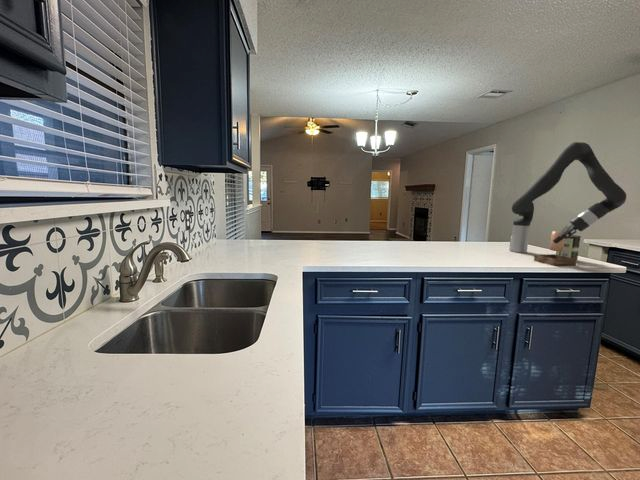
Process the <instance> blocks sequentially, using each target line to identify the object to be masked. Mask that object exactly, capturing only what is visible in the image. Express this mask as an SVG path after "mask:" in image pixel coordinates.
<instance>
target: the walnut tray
mask: <svg viewBox="0 0 640 480" xmlns="http://www.w3.org/2000/svg"><path fill="white" fill-rule="evenodd" d="M576 260H577V261H578V259H574V258H570V257H565V256H560V255H556V253H554V254H553V253H551V254H550V253H549V254H548V253H546V254H534V256H533V261H534V262H537V263H542V264H545V265H548V266H553V267H563V266H565V267H567V266H570V267H573V266H574V267H576V266H577V261H576Z"/></svg>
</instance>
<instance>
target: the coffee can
mask: <svg viewBox="0 0 640 480" xmlns="http://www.w3.org/2000/svg"><path fill="white" fill-rule="evenodd" d="M581 237H582V236H580V235H577V234H573V235H571V236H570V237H568V238H567V239H564V245H563V251H555V254H556V255H560V256H565V257H570V258H574V259H577V260H576V262H578V256H579V250H580V249H579V248H580V242H581Z"/></svg>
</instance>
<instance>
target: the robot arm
mask: <svg viewBox="0 0 640 480" xmlns="http://www.w3.org/2000/svg"><path fill="white" fill-rule="evenodd" d="M574 161H578V162H580V163H581V164H582V165H583V166H584V167H585V169H586V171H587V175H588V177H589V179H590V182H591V183H592V184H593V185H594V187H595V188H596V189H597V191H599V192H602V194H603V195H604V196H605V198H604V199H603V200H601V201H600V202H596V203H594V204H593V205H591V206H589V207H588V208H587V209H585V210H584V211H581V213H579V214H577V215H576V216H574V217H573V218H572V219H570V220H569V223H570V224H571V225H569V226H568V225H567V226H566V225H565V227H564V228H562V229H560V231H562V234H561V235H560V236H559V237H557V238H556V239H554V240H553V241H554V242H555V243H558V242H560V241H561V240H563V239H567V238H568V237H570V236H571V235H575V234H576V233H577V230H578V231H579V232H583V231H585V230H586V229H588V228H589V227H591V226H592V225H593V224H595V223H596V222H598V221H599V220H601V218H603V217H605V216H606V215H607V214H608V213H611V212H613V211H614V210H617V209H618V208H620V207H621V206H623V205H624V204H625V203H626V201H627V193H626V192H625V190H624V189H623V188H622V187H621V186H620V185H618V183H616V181H614V179H613V178H612V177H611V176H610V175H609V173H608V172H607V171H606V170H605V168H604V167H603V166H602V165H601V163H600V161H599V160H598V158H597V157H596V155H595V153H594V150H593V148H592V146H591V145H590V144H588V142H587V143H586V142H581V141H579V142H577V141H575V142H571V143H568V145H566V146H565V147H564V149H563V150H562V151H561V153H560V154H559V155H558V156H557V158H556V159H555V160H554V162H552V164H550V166H549V167H548V168H547V169H546V170H545V171H544V172H543V173H542V174H541V175H540V176H539V177H538V178H537V180H535V182H534V183H533V184H532V185H531V186H530V187H529V188H528V189H527V191H525V192H524V193H523V194H522V195H521V196H520V197H519V198H517V199H516V200H515V201H514V202H513V204H512V206H511V211H512V213H513V214H515V215H518V216H517V218H515V219H514V220H513V223H512V231H511V236H510V239H509V251H510V252H513V253H514V252H515V253H523V254H524V253H526V254H527V253H528V246H529V240H530V239H529V238H530V230H531V229H530V228H531V223H532V221H533V218H534V212H535V205H534V202H533V201H535V200H536V199H538V198H539V197H542V196H544V195H545V194H547V193H548V192H550V191H552V189H553V188H555V186H557V184H558V183H559V182H560V180H561V178H562V176H563V174H564V171H565V170H566V169H567V168H568V167H569V166H570V165H571V164H572V163H573V162H574Z"/></svg>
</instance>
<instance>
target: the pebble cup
mask: <svg viewBox="0 0 640 480" xmlns="http://www.w3.org/2000/svg"><path fill="white" fill-rule="evenodd" d="M561 234H562V231H561V230H559V231H558V230H553V231H551V237H550V245H549V250H550V251H553V252H556V251H563V245H564V239H563V240H561V241H560V242H558V243H555V242H554V241H553V240H554V239H556V238H557V237H559V236H560V235H561Z"/></svg>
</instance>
